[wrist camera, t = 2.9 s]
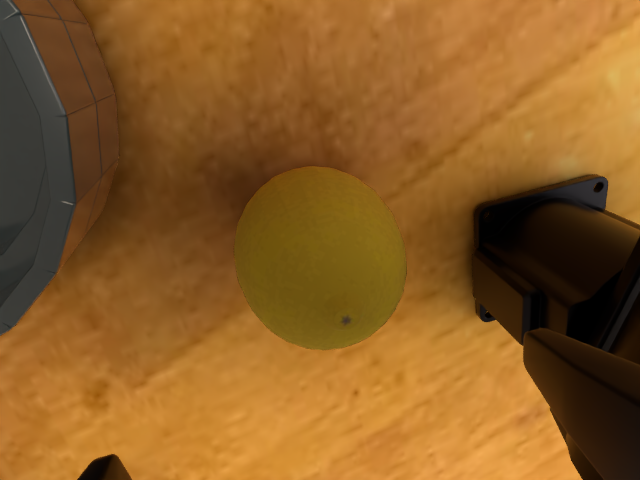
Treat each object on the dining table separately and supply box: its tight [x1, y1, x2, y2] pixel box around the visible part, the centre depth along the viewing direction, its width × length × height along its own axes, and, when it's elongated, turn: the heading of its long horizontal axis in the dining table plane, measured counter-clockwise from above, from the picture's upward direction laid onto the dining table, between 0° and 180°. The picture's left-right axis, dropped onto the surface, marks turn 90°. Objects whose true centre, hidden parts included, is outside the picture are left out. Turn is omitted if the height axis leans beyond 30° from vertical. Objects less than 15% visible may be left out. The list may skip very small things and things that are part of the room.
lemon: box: [234, 166, 407, 350], centre depth 14 cm, size 6×6×8 cm
